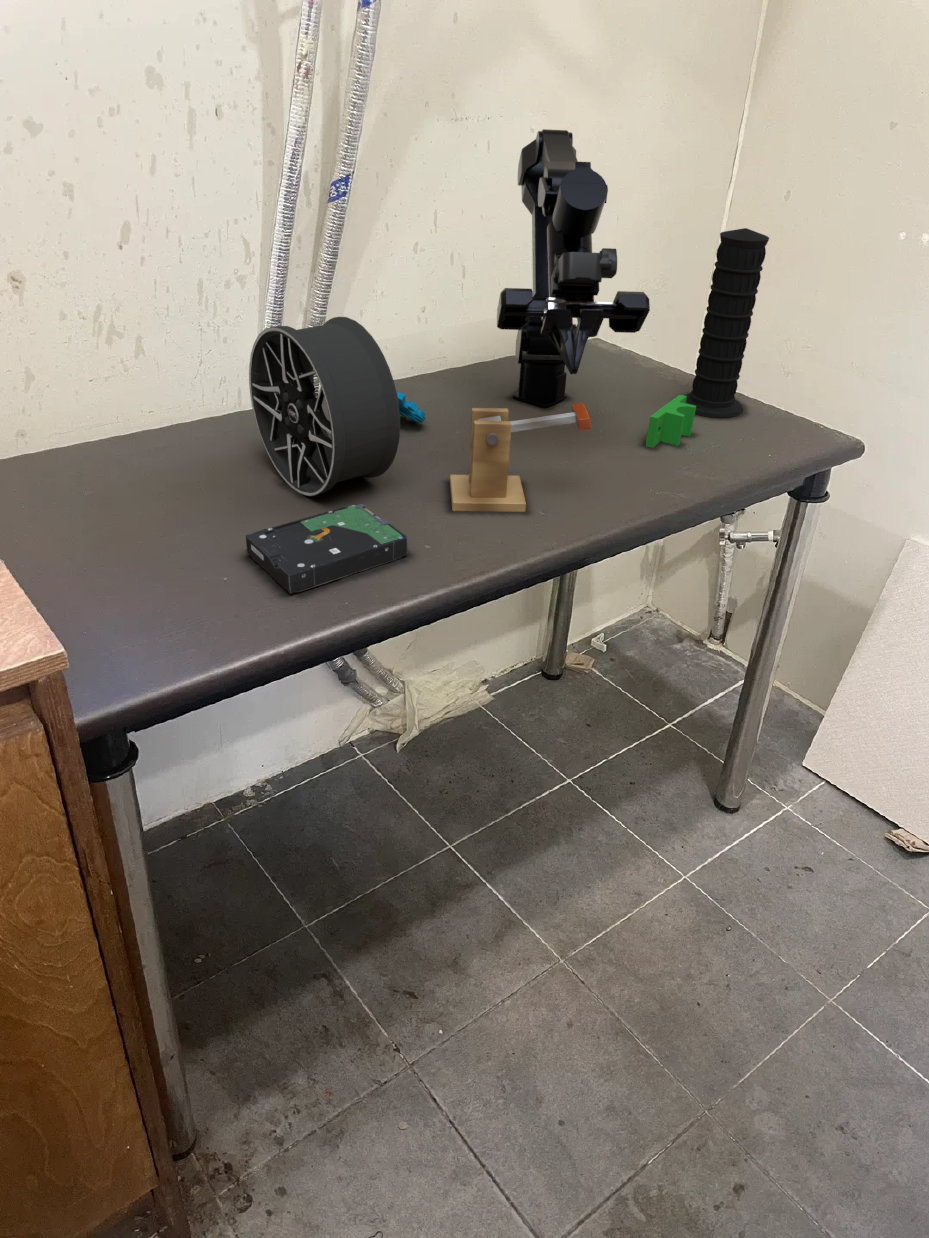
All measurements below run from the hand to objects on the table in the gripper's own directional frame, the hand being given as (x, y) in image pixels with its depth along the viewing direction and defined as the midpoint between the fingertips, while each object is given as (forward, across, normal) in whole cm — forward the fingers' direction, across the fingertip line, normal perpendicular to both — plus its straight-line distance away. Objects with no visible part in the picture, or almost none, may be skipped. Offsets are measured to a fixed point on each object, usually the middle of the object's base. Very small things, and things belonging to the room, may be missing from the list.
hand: (574, 372), depth 114 cm
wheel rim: (+12, -31, +7) cm, 34 cm away
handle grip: (-8, +27, +28) cm, 40 cm away
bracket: (+15, -11, +4) cm, 19 cm away
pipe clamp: (+1, +18, +19) cm, 26 cm away
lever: (+9, -6, -2) cm, 11 cm away
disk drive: (+26, -30, -6) cm, 40 cm away
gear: (-1, -23, +21) cm, 31 cm away
